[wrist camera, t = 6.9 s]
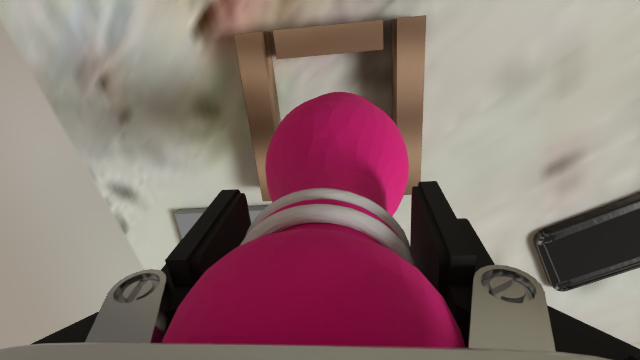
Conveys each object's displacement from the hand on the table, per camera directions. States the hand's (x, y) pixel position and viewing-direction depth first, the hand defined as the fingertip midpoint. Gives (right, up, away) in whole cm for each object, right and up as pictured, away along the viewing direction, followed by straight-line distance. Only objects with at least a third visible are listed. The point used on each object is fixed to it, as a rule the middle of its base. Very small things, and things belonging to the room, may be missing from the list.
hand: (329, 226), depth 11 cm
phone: (+29, -4, +22) cm, 36 cm away
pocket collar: (+1, +8, +18) cm, 20 cm away
